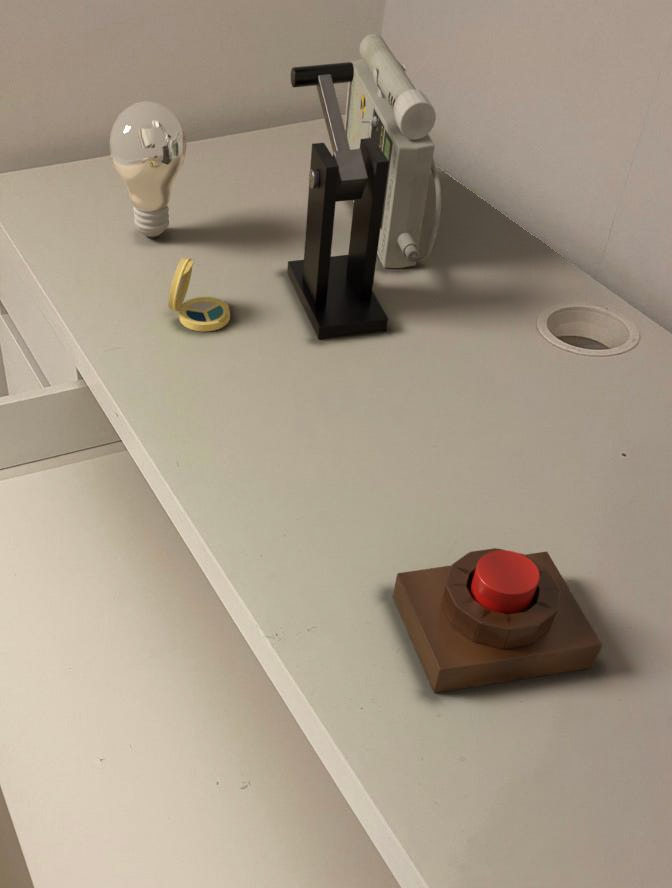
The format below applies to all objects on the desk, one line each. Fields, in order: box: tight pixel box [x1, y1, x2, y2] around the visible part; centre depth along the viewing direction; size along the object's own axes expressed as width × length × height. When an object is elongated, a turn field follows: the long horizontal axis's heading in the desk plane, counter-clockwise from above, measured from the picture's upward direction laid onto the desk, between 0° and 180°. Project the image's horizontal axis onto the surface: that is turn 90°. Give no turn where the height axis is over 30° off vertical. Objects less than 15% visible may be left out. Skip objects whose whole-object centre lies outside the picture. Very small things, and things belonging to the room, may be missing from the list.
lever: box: [290, 61, 368, 202], centre depth 79 cm, size 12×5×2 cm, turn 10°
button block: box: [392, 547, 603, 694], centre depth 59 cm, size 10×8×4 cm
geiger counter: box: [344, 33, 442, 269], centre depth 89 cm, size 14×6×25 cm
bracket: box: [286, 138, 389, 340], centre depth 81 cm, size 11×6×13 cm, turn 10°
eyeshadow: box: [168, 257, 231, 332], centre depth 83 cm, size 4×5×5 cm
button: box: [471, 549, 540, 614], centre depth 58 cm, size 4×4×2 cm
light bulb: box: [108, 100, 187, 239], centre depth 90 cm, size 7×7×12 cm
